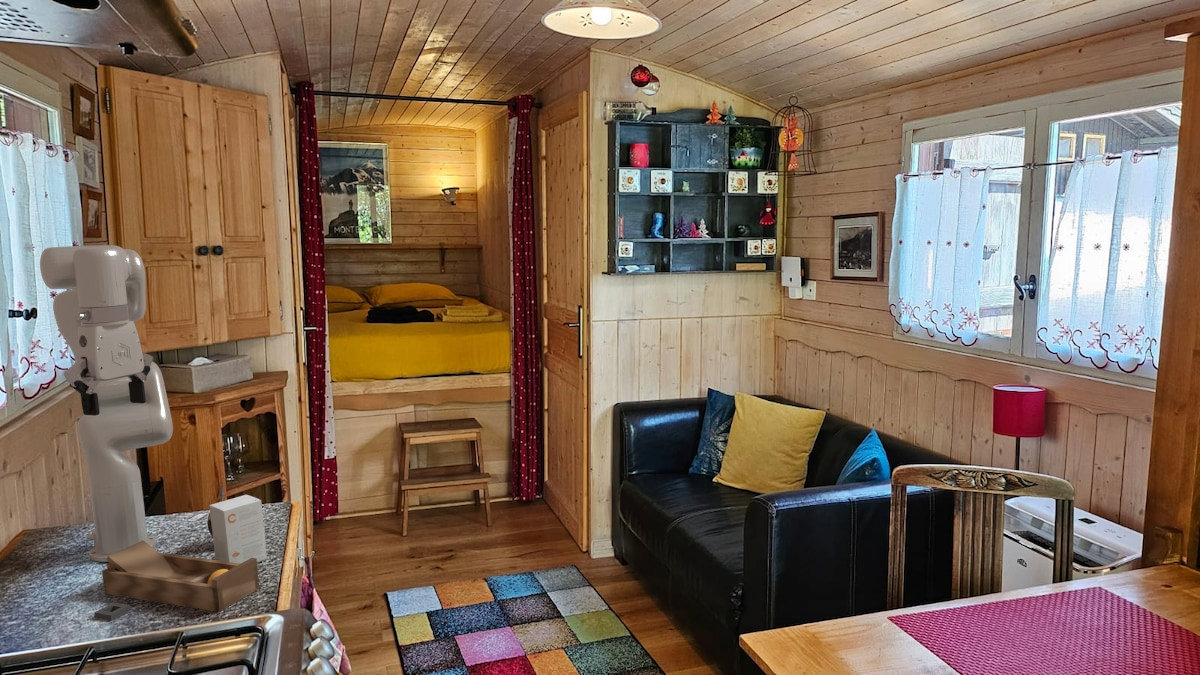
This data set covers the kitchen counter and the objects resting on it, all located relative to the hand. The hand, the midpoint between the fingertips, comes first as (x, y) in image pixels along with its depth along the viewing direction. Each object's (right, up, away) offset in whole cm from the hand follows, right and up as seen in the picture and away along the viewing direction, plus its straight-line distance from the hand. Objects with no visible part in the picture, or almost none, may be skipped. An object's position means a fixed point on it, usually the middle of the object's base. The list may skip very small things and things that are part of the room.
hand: (115, 408), depth 150 cm
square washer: (+1, -37, -2) cm, 37 cm away
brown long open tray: (+9, -35, +7) cm, 37 cm away
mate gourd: (+7, -33, +29) cm, 44 cm away
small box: (+15, -34, +19) cm, 41 cm away
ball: (+18, -33, +3) cm, 38 cm away
